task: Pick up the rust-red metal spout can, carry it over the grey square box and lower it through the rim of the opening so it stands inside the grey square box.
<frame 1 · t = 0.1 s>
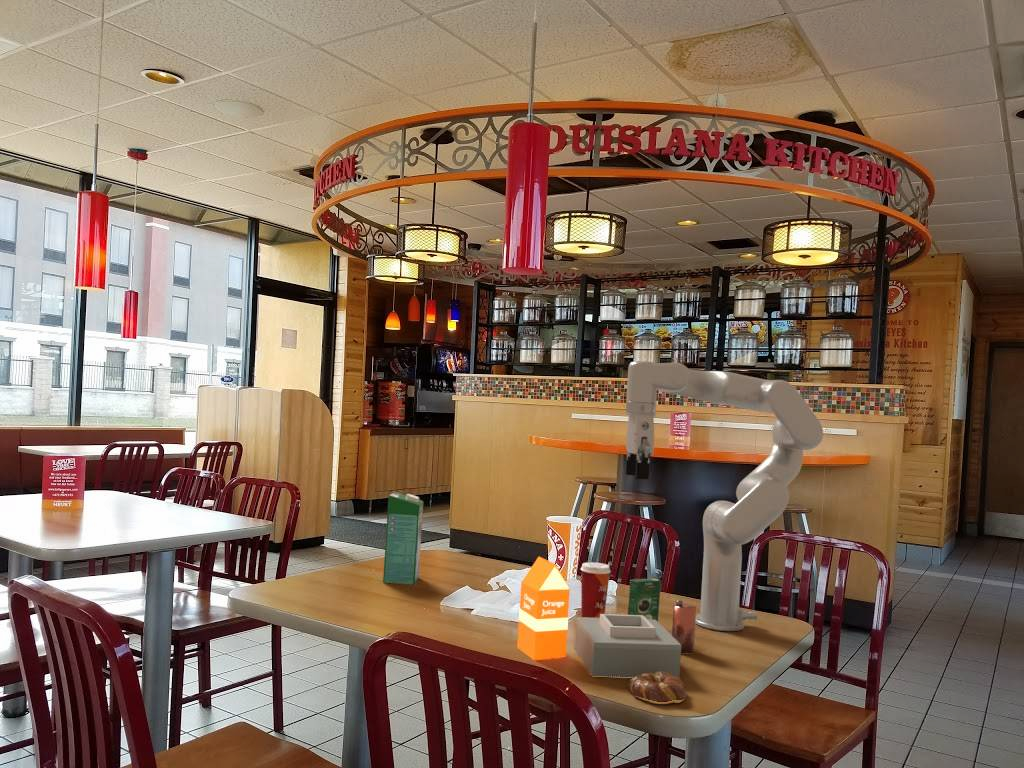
hand: (636, 477, 201), 37 cm above the table, tool pointing down, fingers open, 9 cm apart
milk carton: (401, 580, 230), on the table
grey square box: (624, 663, 168), on the table
coffee box: (642, 634, 191), on the table
pretzel: (656, 696, 151), on the table
paper cup: (592, 621, 199), on the table
orange juice: (541, 653, 172), on the table
spout can: (682, 650, 179), on the table
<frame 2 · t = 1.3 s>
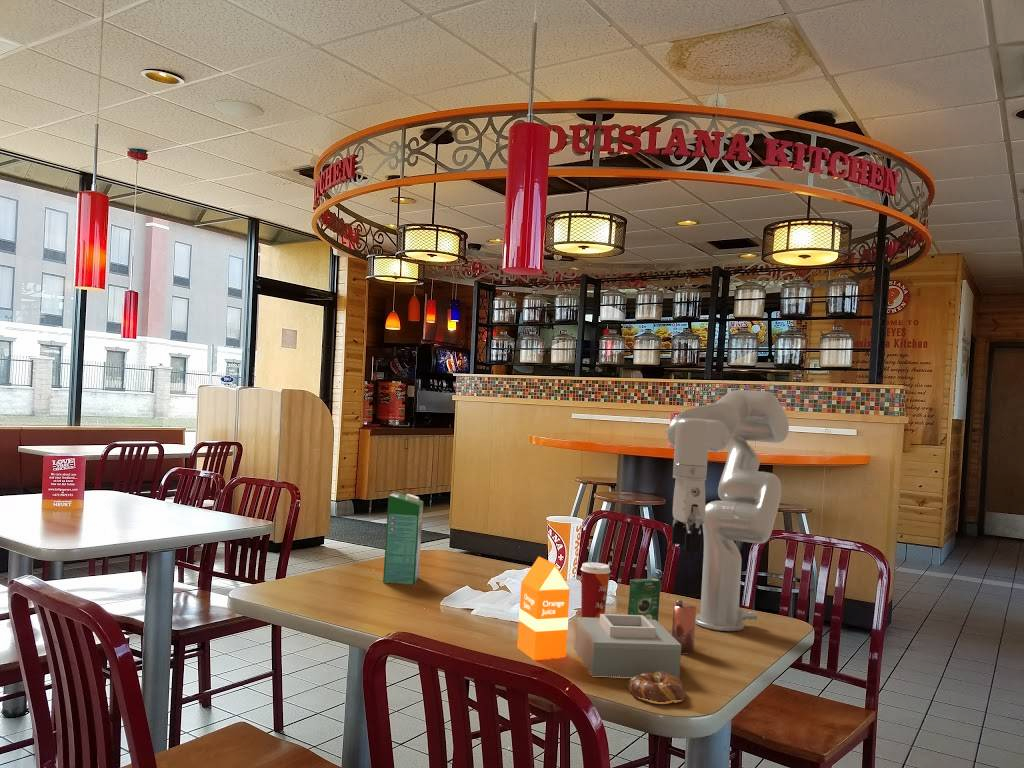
hand: (684, 547, 180), 23 cm above the table, tool pointing down, fingers open, 9 cm apart
nothing on the table moved.
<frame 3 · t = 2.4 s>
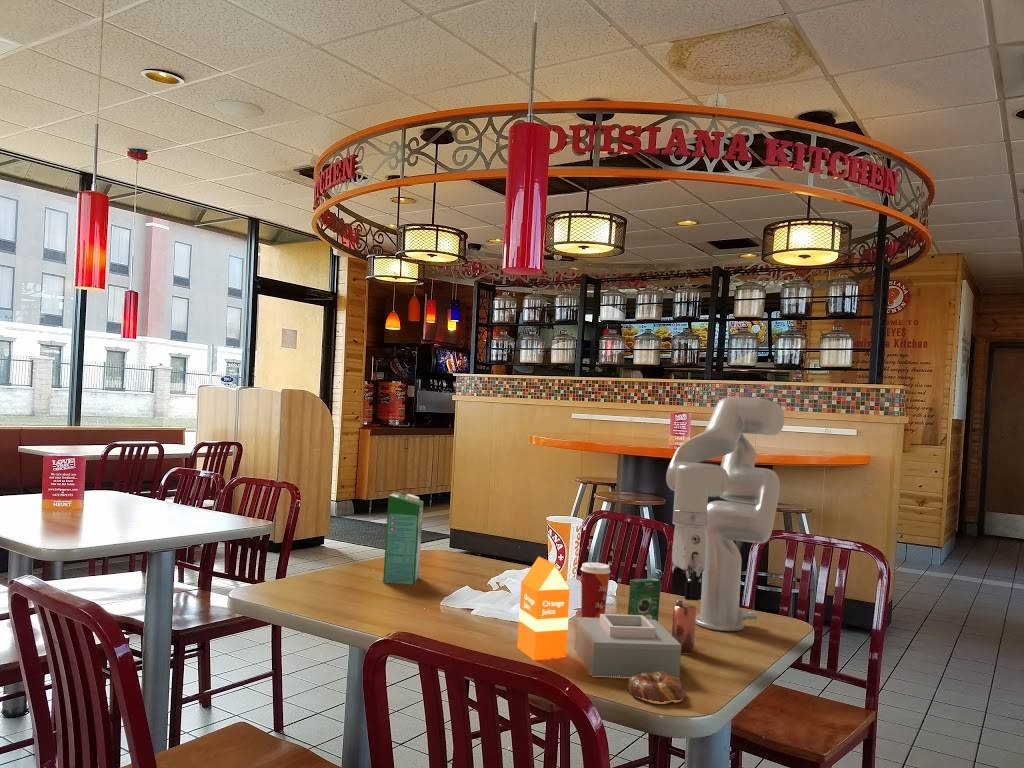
hand: (684, 594, 179), 13 cm above the table, tool pointing down, fingers open, 9 cm apart
nothing on the table moved.
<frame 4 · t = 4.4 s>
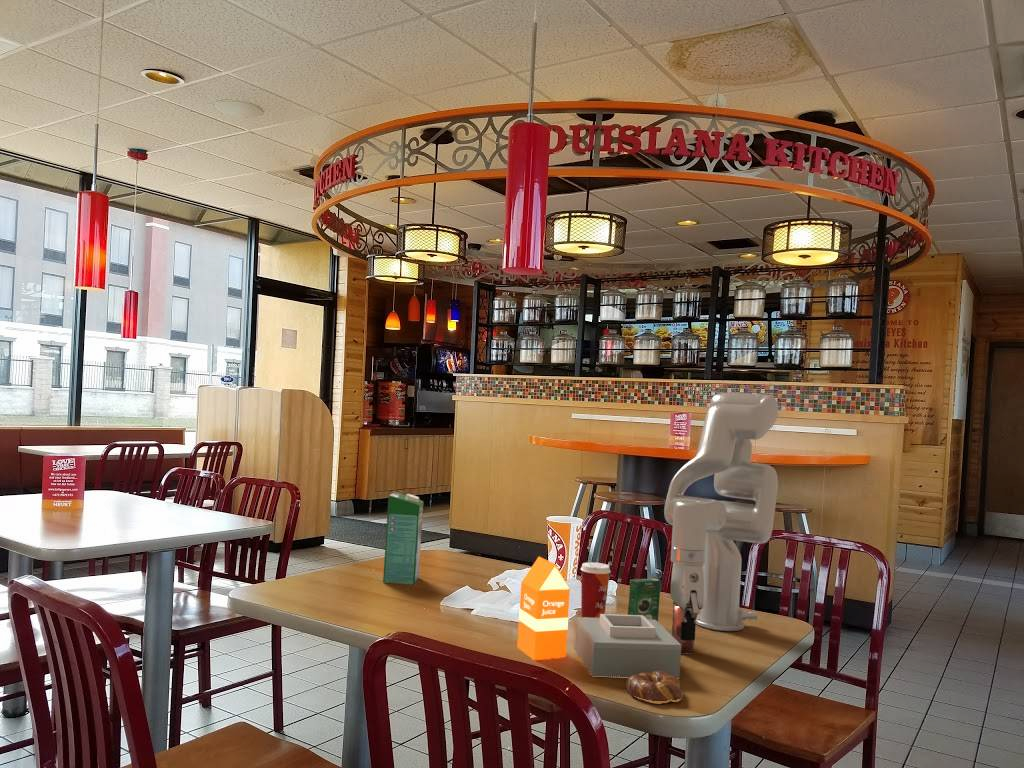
hand: (683, 635, 179), 3 cm above the table, tool pointing down, fingers closed on spout can, 5 cm apart
spout can: (682, 650, 179), on the table, touching gripper
everything else where it was.
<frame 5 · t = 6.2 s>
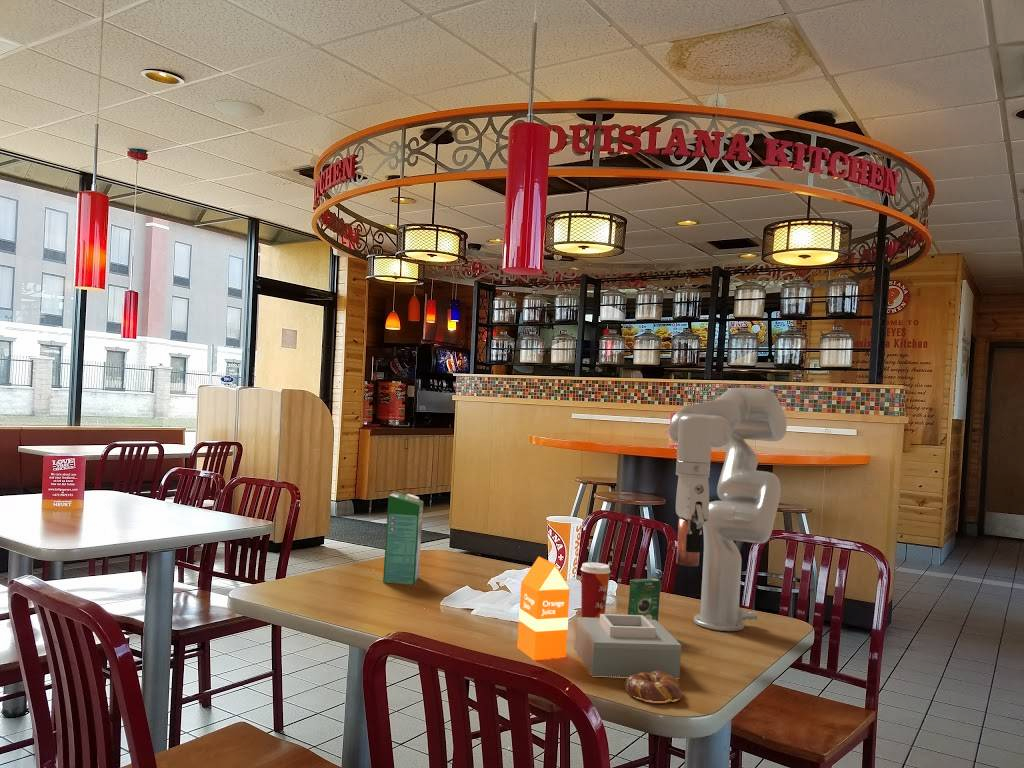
hand: (688, 548, 180), 23 cm above the table, tool pointing down, fingers closed on spout can, 5 cm apart
spout can: (687, 563, 180), point 20 cm above the table, touching gripper
everything else where it was.
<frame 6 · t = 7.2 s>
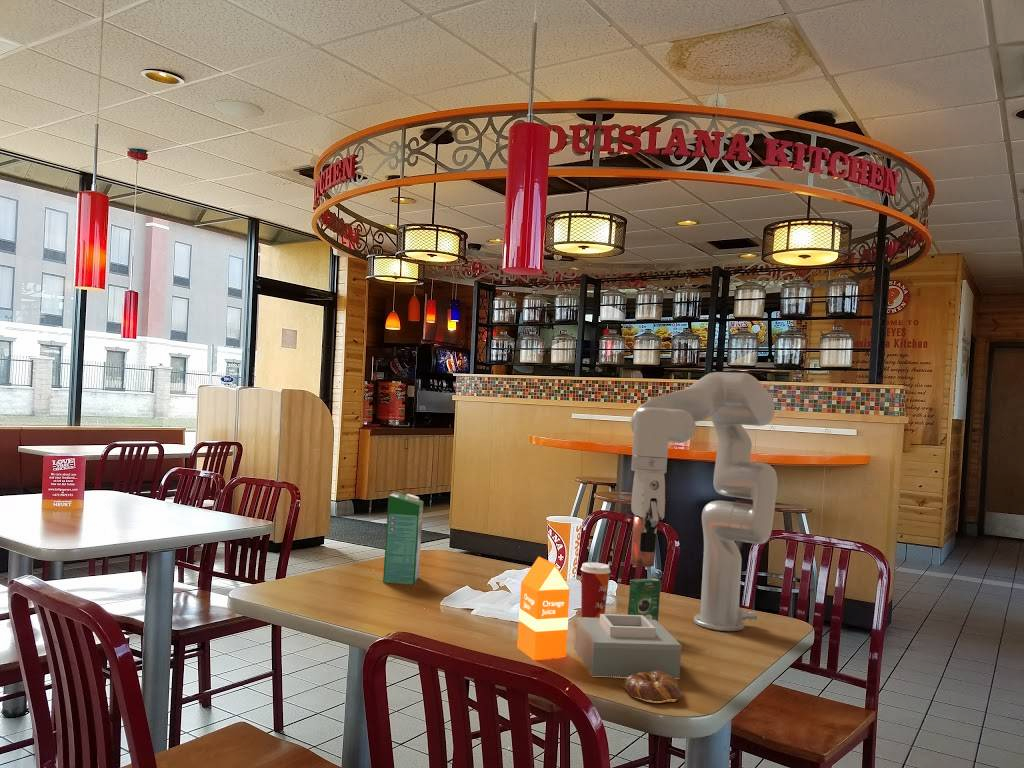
hand: (643, 548, 170), 24 cm above the table, tool pointing down, fingers closed on spout can, 5 cm apart
spout can: (642, 564, 170), point 21 cm above the table, touching gripper
everything else where it was.
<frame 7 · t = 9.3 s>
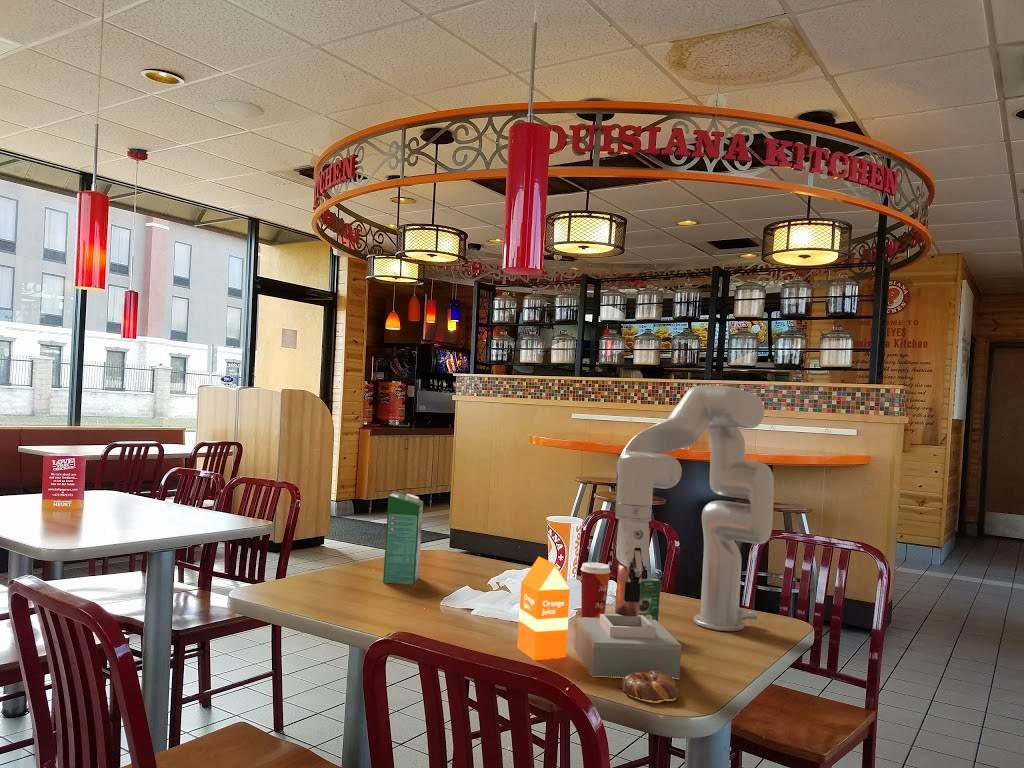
hand: (628, 597, 168), 14 cm above the table, tool pointing down, fingers closed on spout can, 5 cm apart
spout can: (627, 613, 168), point 11 cm above the table, touching gripper
when the fingers open (9 cm above the table, at t = 11.1 s): spout can drops 2 cm, resting on grey square box.
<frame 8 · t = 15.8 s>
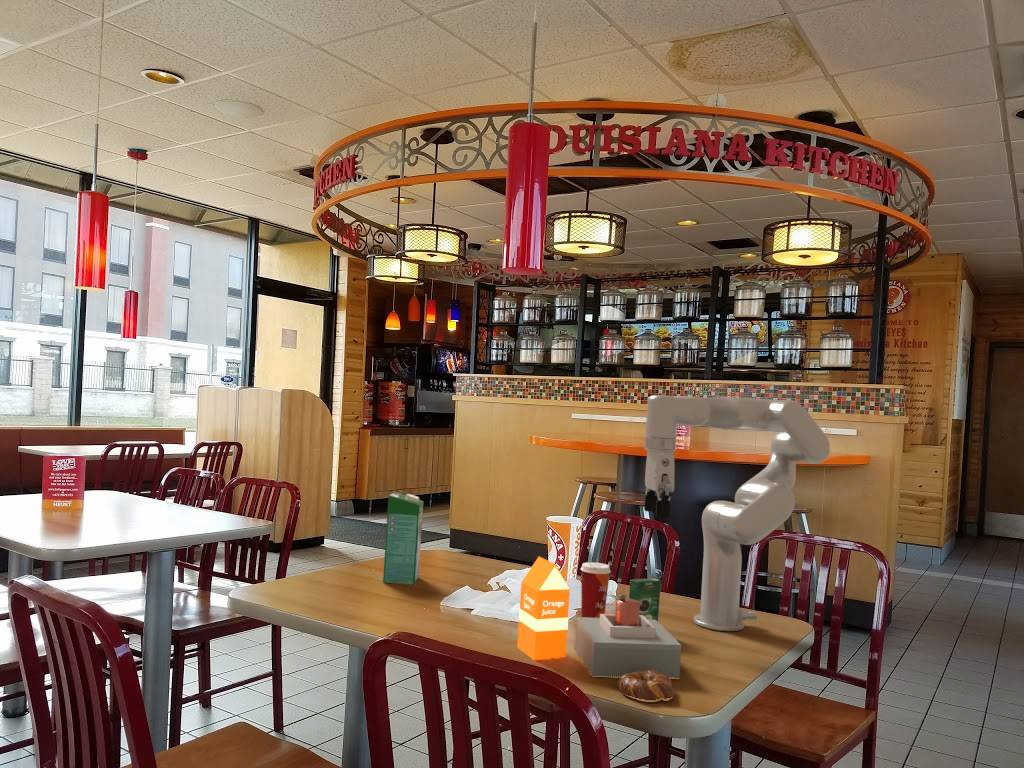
hand: (656, 514, 195), 28 cm above the table, tool pointing down, fingers open, 9 cm apart
spout can: (625, 648, 168), point 3 cm above the table, touching grey square box
at the end: spout can inside the target area on the grey square box (0.3 cm from its centre), point 3.1 cm above the grey square box's base; spout can tilted 2°; the gripper is holding nothing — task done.
